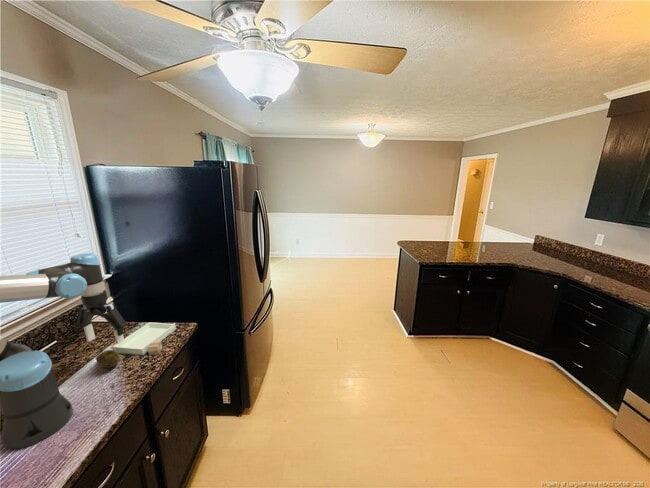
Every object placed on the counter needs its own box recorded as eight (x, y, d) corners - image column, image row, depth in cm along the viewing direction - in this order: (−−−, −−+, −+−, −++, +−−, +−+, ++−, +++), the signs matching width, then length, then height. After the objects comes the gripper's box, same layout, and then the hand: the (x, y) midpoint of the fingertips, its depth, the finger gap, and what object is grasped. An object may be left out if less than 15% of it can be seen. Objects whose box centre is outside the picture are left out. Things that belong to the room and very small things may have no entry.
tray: (143, 355, 115) (142, 349, 115) (113, 352, 117) (112, 346, 117) (176, 329, 136) (175, 324, 135) (150, 327, 138) (149, 322, 137)
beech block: (158, 354, 116) (157, 346, 115) (148, 355, 115) (147, 347, 115) (162, 348, 120) (160, 340, 119) (152, 349, 119) (151, 342, 118)
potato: (125, 353, 117) (121, 337, 115) (119, 371, 106) (115, 354, 104) (101, 359, 113) (97, 343, 111) (93, 378, 102) (88, 361, 100)
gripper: (130, 290, 104) (140, 337, 109) (76, 287, 107) (88, 333, 112) (112, 298, 96) (124, 348, 102) (55, 295, 100) (69, 344, 105)
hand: (105, 341), depth 107 cm, fingers open, 13 cm apart
